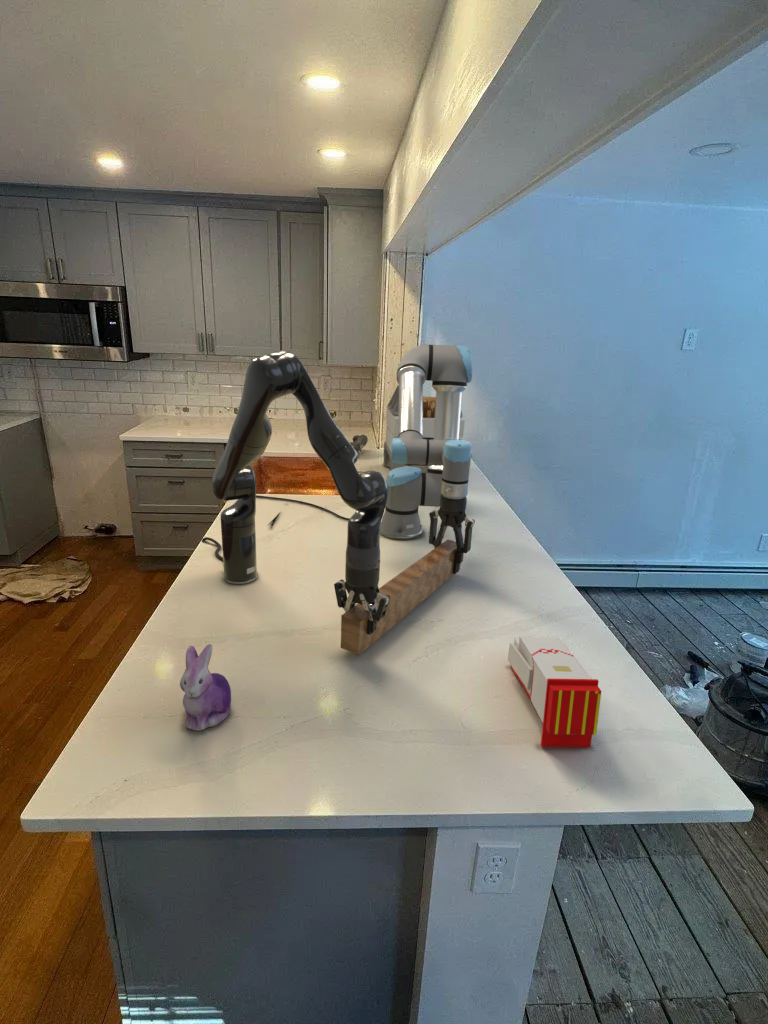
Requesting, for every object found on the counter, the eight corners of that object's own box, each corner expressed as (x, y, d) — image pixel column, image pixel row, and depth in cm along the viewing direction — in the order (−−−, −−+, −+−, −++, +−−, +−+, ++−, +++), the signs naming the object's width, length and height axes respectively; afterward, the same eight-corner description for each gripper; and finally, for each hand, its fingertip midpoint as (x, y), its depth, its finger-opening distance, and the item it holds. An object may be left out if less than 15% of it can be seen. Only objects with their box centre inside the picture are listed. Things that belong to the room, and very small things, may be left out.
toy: (555, 619, 129) (611, 687, 100) (550, 674, 132) (602, 754, 102) (502, 618, 128) (542, 685, 99) (498, 673, 131) (536, 754, 102)
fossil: (343, 440, 315) (365, 425, 310) (354, 454, 317) (375, 439, 312) (337, 454, 295) (359, 438, 290) (348, 468, 298) (371, 453, 293)
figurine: (187, 740, 102) (180, 669, 97) (178, 706, 110) (171, 639, 105) (239, 725, 106) (236, 656, 101) (227, 693, 115) (223, 628, 109)
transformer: (382, 463, 289) (386, 382, 275) (445, 464, 293) (451, 384, 279) (390, 482, 257) (394, 392, 243) (460, 483, 261) (468, 394, 247)
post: (445, 564, 173) (447, 539, 170) (460, 569, 171) (462, 543, 168) (340, 647, 129) (341, 615, 126) (358, 655, 126) (360, 622, 123)
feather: (287, 506, 225) (290, 502, 224) (270, 530, 198) (272, 526, 198) (283, 504, 225) (286, 500, 224) (265, 527, 198) (268, 523, 197)
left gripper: (326, 559, 124) (325, 626, 130) (381, 576, 117) (378, 647, 123) (345, 548, 130) (344, 612, 136) (399, 564, 123) (395, 631, 129)
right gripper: (419, 492, 162) (414, 566, 170) (478, 505, 153) (470, 582, 161) (431, 486, 168) (425, 557, 176) (488, 498, 159) (480, 573, 167)
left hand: (360, 628), depth 129 cm, fingers closed on post, 5 cm apart
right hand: (447, 569), depth 168 cm, fingers closed on post, 5 cm apart
